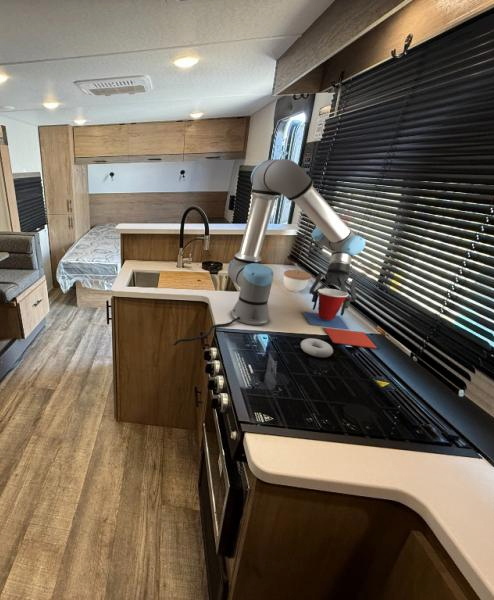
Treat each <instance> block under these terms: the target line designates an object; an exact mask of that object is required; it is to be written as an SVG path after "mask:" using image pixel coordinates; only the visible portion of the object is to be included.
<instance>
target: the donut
mask: <svg viewBox="0 0 494 600" xmlns="http://www.w3.org/2000/svg"><path fill="white" fill-rule="evenodd" d="M300 348H301V349H302V351H303V352H304V353H305V354H308V355H310V356H312V357H315V358H322V359H323V358H328V357H331V356H332V355H333V354H334V349H333V346H331V344H329V343H328V342H327V341H324V340H321V339H318V338H305V339H303V340H302V341H301V342H300Z"/></svg>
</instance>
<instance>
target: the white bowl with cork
mask: <svg viewBox="0 0 494 600" xmlns="http://www.w3.org/2000/svg"><path fill="white" fill-rule="evenodd" d="M311 278H312V274H311V273H309V272H306V271H302V270H299V269H288V270H285V271H284V272H283V278H282V284H283V286H284V287H285V289H286V290H287V291H289V292H294V293H299V292H302V291H303V290H304V289H306V288H307V287H308V285H309V283H310V280H311Z"/></svg>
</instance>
